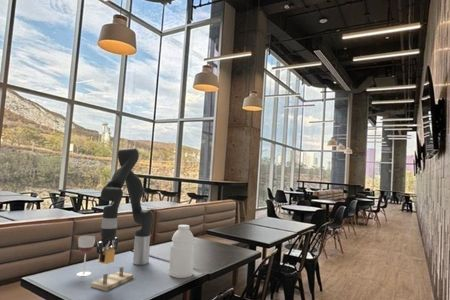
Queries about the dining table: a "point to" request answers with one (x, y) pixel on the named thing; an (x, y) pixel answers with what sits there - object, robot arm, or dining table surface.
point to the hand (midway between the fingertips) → (106, 260)
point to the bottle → (182, 253)
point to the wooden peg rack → (112, 280)
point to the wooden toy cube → (108, 256)
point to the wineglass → (85, 250)
